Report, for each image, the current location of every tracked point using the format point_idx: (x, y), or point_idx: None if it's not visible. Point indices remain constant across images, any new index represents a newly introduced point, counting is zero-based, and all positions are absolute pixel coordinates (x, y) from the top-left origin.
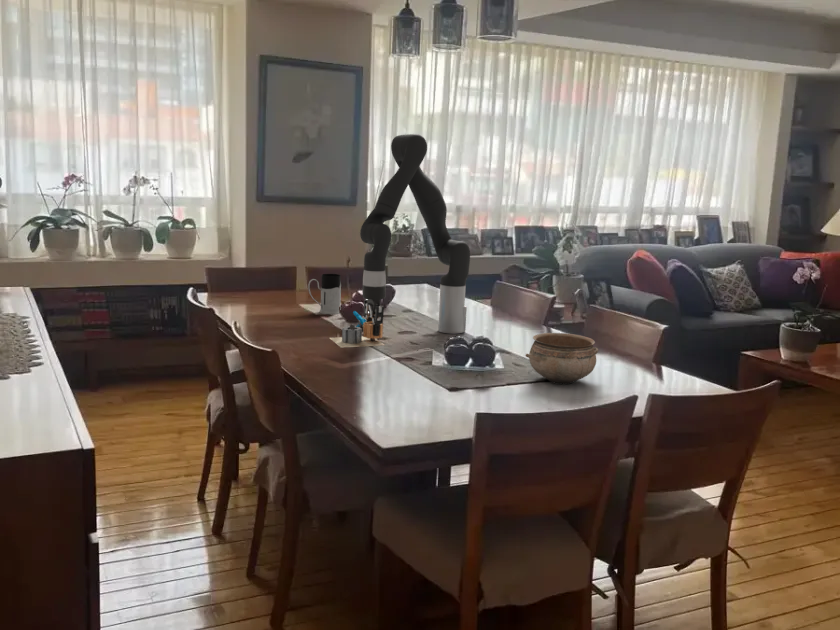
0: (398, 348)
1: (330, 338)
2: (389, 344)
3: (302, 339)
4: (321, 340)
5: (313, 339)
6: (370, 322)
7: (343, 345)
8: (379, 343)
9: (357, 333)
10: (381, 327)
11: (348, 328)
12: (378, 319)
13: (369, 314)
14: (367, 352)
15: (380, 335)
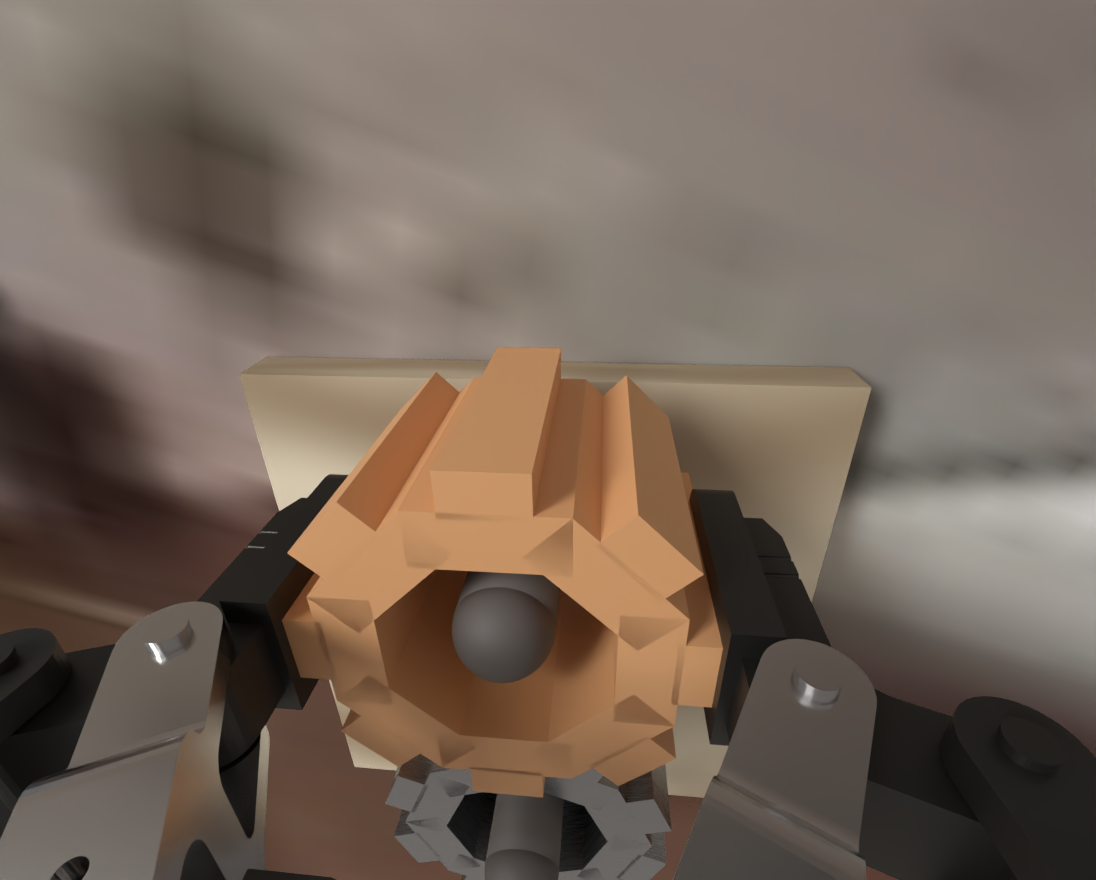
0: (933, 144)
1: (382, 766)
2: (614, 203)
3: (297, 837)
4: (330, 763)
5: (295, 792)
6: (386, 668)
7: (687, 767)
8: (739, 431)
9: (662, 773)
10: (672, 506)
11: (466, 830)
12: (769, 789)
13: (243, 868)
14: (914, 607)
15: (667, 438)
